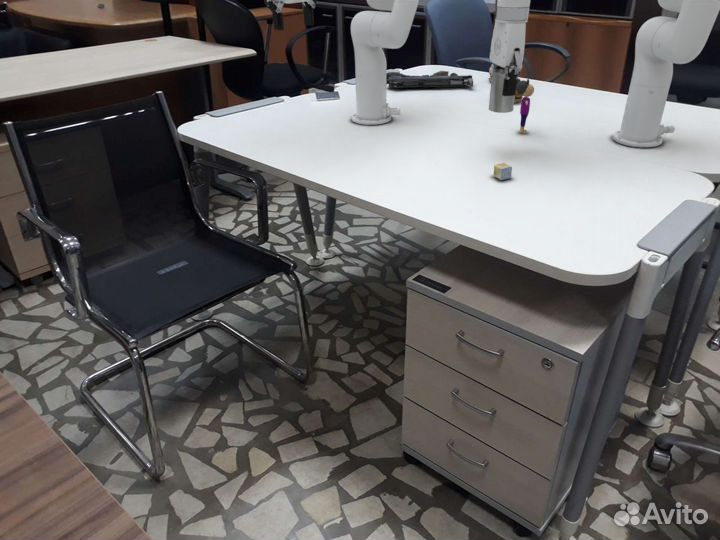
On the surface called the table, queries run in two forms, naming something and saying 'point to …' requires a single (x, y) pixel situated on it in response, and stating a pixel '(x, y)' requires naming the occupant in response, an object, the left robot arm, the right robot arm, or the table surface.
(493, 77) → the can
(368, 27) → the left robot arm
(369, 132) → the table surface
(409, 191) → the table surface
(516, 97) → the burger
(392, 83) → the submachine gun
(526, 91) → the toy
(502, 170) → the alphabet block
